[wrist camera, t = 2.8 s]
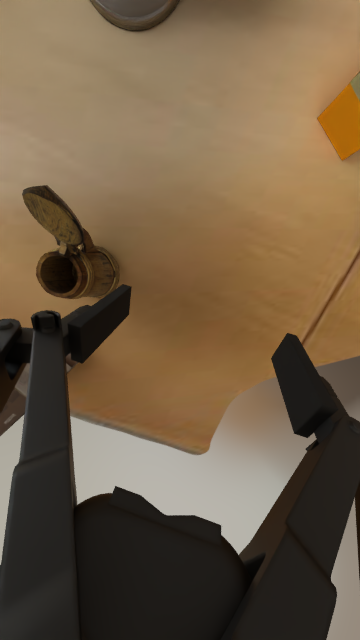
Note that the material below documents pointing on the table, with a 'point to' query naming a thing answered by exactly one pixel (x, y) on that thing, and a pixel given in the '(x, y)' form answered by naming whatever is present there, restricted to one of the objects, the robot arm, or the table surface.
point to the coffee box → (21, 398)
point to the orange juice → (344, 120)
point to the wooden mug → (69, 251)
